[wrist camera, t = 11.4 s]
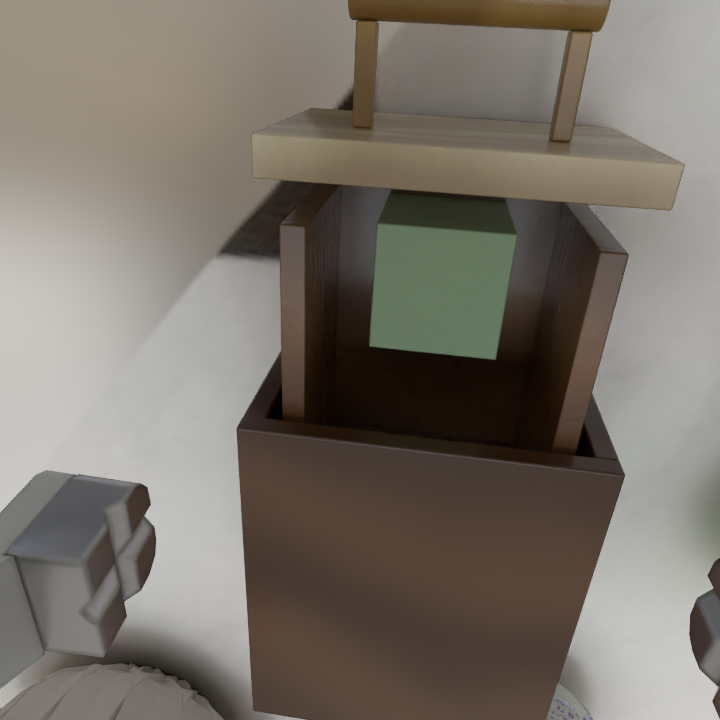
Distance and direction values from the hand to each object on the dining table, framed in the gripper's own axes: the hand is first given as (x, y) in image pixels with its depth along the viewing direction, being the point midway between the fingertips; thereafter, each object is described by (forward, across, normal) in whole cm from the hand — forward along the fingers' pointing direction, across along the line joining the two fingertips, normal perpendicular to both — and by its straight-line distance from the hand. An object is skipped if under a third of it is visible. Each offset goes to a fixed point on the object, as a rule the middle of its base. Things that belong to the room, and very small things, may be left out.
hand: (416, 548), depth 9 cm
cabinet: (+19, 0, +13) cm, 23 cm away
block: (+17, 0, +1) cm, 17 cm away
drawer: (+18, 0, +1) cm, 18 cm away
